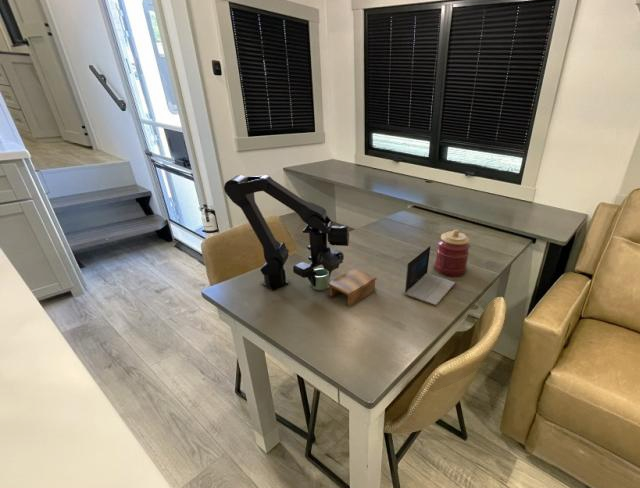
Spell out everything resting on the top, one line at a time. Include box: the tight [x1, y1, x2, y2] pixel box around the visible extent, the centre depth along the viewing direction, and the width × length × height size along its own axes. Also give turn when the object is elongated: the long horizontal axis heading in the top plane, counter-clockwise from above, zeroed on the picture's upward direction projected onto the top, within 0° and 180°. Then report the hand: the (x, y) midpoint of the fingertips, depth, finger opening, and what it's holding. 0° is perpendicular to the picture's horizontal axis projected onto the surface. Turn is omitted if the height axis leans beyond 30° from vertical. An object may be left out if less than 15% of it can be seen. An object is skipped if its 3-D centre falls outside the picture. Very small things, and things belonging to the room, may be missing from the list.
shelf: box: [328, 267, 377, 307], centre depth 116 cm, size 14×10×6 cm
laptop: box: [404, 245, 456, 306], centre depth 120 cm, size 18×12×13 cm
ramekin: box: [311, 267, 331, 291], centre depth 119 cm, size 6×6×6 cm
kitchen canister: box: [434, 229, 471, 277], centre depth 134 cm, size 13×13×18 cm
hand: (320, 282), depth 120 cm, fingers closed on ramekin, 6 cm apart
